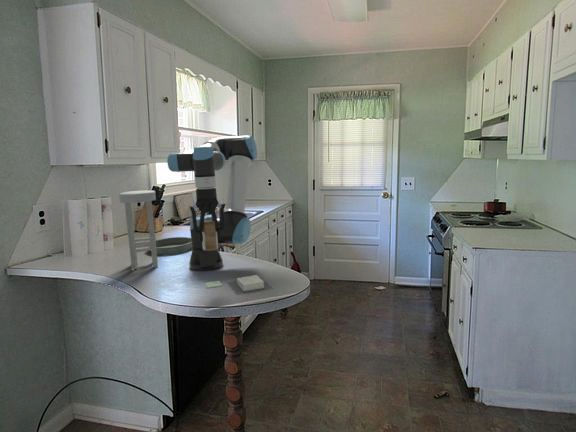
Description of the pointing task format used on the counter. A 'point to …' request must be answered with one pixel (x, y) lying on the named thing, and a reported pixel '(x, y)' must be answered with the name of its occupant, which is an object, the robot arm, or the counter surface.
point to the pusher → (210, 235)
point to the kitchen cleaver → (227, 245)
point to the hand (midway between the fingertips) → (210, 248)
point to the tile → (250, 283)
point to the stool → (128, 199)
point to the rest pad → (213, 284)
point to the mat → (240, 291)
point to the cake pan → (173, 245)
